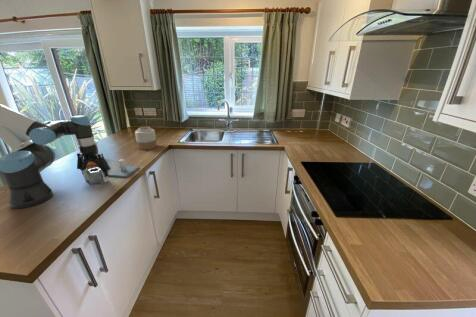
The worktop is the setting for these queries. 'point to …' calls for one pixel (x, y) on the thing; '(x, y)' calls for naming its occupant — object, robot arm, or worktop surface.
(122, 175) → the shaft block
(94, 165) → the pastry
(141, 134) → the vase
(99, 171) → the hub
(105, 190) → the worktop surface
